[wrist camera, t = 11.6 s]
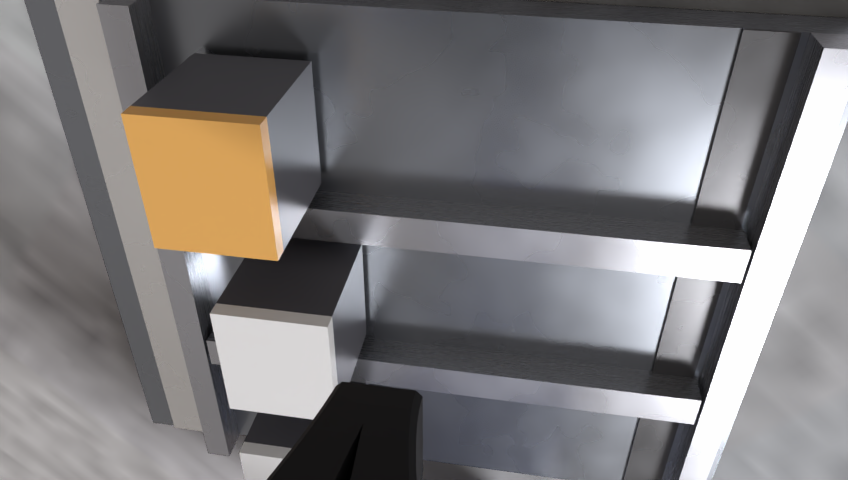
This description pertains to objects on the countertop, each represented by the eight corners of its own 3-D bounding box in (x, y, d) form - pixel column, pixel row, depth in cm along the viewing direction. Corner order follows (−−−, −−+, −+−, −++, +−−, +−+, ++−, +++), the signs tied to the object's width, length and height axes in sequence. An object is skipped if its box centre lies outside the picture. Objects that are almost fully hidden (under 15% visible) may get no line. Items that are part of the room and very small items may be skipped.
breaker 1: (366, 333, 22) (336, 422, 19) (273, 322, 22) (229, 408, 20) (362, 243, 20) (327, 327, 17) (260, 232, 21) (209, 313, 18)
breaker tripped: (321, 183, 19) (278, 261, 16) (215, 173, 20) (154, 248, 17) (311, 61, 17) (259, 125, 14) (194, 52, 18) (120, 113, 15)
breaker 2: (371, 445, 25) (346, 537, 22) (289, 433, 25) (254, 523, 23) (368, 376, 23) (340, 467, 20) (279, 364, 24) (239, 452, 21)
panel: (699, 469, 25) (709, 524, 24) (167, 398, 28) (140, 443, 26) (860, 19, 16) (897, 52, 14) (48, -26, 19) (-6, -3, 17)
